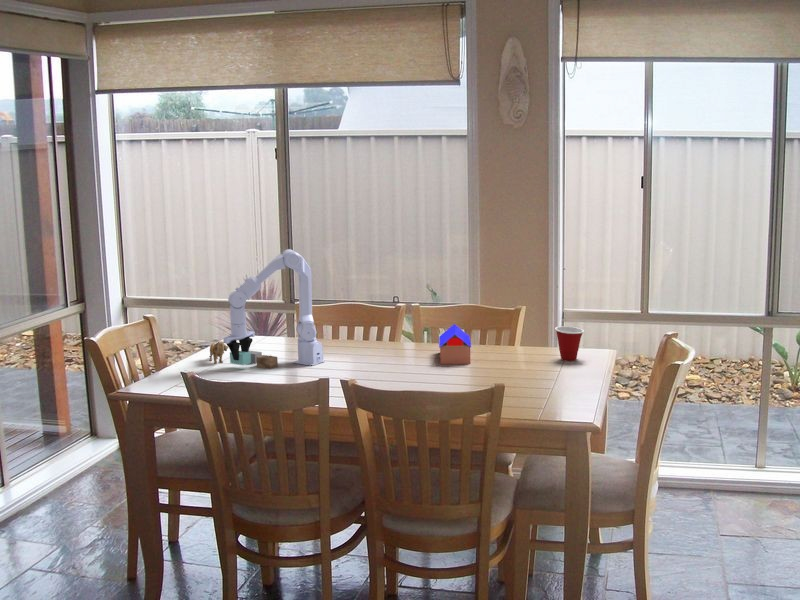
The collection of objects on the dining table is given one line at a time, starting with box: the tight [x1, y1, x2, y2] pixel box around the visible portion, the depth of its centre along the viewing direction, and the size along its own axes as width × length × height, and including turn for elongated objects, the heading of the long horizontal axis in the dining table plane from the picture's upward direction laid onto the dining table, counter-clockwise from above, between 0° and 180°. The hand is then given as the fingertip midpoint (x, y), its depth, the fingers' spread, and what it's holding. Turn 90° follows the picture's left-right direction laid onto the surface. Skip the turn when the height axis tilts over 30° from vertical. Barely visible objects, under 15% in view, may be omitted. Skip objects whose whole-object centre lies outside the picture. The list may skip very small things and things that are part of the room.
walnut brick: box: [256, 354, 279, 370], centre depth 339 cm, size 7×4×4 cm, turn 59°
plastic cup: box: [554, 325, 585, 362], centre depth 339 cm, size 11×11×12 cm
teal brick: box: [229, 350, 252, 366], centre depth 337 cm, size 7×4×4 cm, turn 54°
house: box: [438, 323, 472, 365], centre depth 346 cm, size 12×20×12 cm, turn 177°
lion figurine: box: [209, 340, 229, 365], centre depth 350 cm, size 15×5×9 cm, turn 34°
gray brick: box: [248, 350, 263, 365], centre depth 348 cm, size 7×4×4 cm, turn 60°
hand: (240, 358), depth 337 cm, fingers closed on teal brick, 4 cm apart
